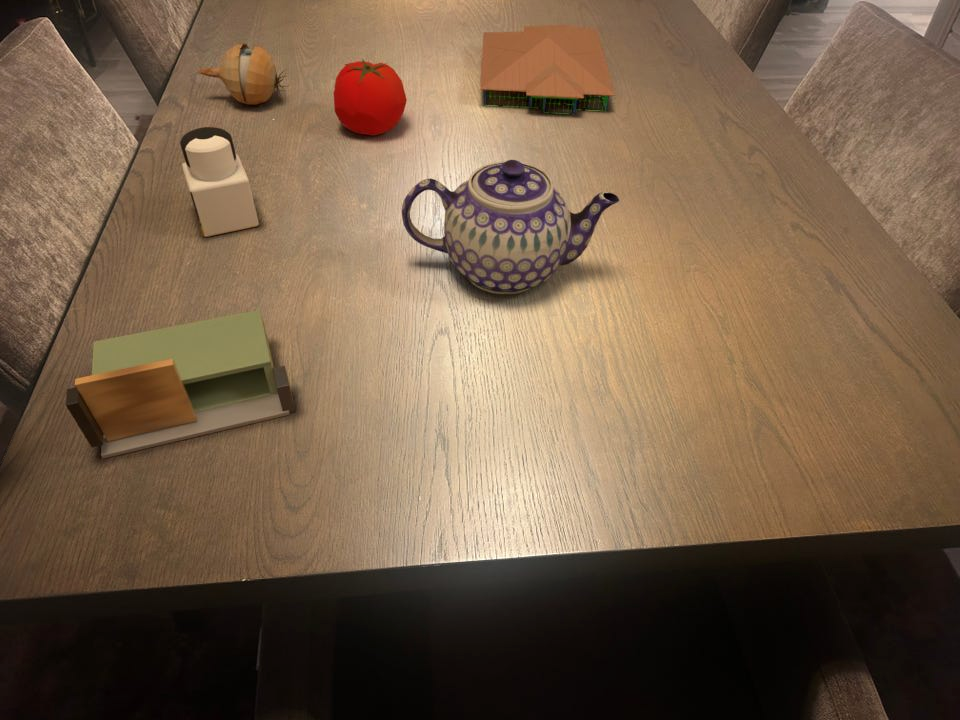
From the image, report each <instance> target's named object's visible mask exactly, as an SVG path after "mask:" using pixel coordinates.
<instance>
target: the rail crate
mask: <svg viewBox="0 0 960 720" xmlns="http://www.w3.org/2000/svg"><path fill="white" fill-rule="evenodd" d="M271 351H272V350H271V345H270V342H269V339H268V335H267V331H266V327H265V323H264V319H263V314H262V311H261V309H256V310H251V311H246V312H239V313H235V314H230V315H223V316H219V317H213V318H209V319H203V320H198V321H194V322H193V321H192V322H188V323H183V324H182V323H181V324H177V325H172V326H168V327H163V328H162V327H161V328H157V329H152V330H151V329H150V330H146V331H142V332H141V331H140V332H136V333H131V334H126V335H120V336H116V337H109V338H105V339H100V340H95V341H93V344H92V363H91V375H95V374H100V373H105V372H110V371H115V370H120V369H125V368H130V367H135V366H139V365H144V364H149V363H154V362H159V361H164V360H169V359H173V360H174V362H175V365H176V367H177V370H178V372H179V375H180V377H181V379H182V382H183V384H184V387H185V389H186V392H187V394H188V396H189V399H190V401H191V404H192V406H193V409H194V411H195V414H196V418H197V421H195V422H191V423H187V424H182V425H178V426H174V427H169V428H165V429H161V430H156V431H152V432H147V433H143V434H139V435H134V436H130V437H126V438H121V439H117V440H113V441H107V439H106V438H105V436H103V445H101V446H100V456H101V459H107V458H113V457H117V456H120V455H125V454H129V453H133V452H138V451H142V450H146V449H150V448H153V447H154V448H155V447H159V446H163V445H167V444H172V443H177V442H179V441H180V442H181V441H183V440H189V439H194V438H197V437H202V436H205V435H210V434H214V433H218V432H221V431H222V432H223V431H227V430H231V429H236V428H239V427H244V426H247V425H253V424H257V423H261V422H264V421H269V420H275V419H277V418H282V417H285V416H290V415H291V413H296V406H295V402H294V398H293V393H292V389H291V385H290V380H289V376H288V372H287V368H286V365H281V366H276V367H275V366H274V362H273V361H274V360H273V356H272V352H271Z"/></svg>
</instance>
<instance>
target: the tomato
mask: <svg viewBox="0 0 960 720" xmlns="http://www.w3.org/2000/svg"><path fill="white" fill-rule="evenodd" d="M361 59H362V60H361V61H359V60H358V61H354V62H349V63H344V66H343V68H342V69H340V70H339V72H338V73H337V76H336V78H335V82H334V90H333V104H334V105H333V106H334V107H333V108H334V113H335V115H336V117H337V119H338V120H339V122H340V123H341V124H342V126H344V127H345V128H346V129H347V130H350V131H352V132H354V133H356V134H360V135H366V136H372V137H374V136H378V135H382V134H384V133H387V132H389V131H391V130H392V129H393V128H394V127H396V126H397V124H398V123H399V122H400V121H401V119H402V117H403V115H404V113H405V110H406V104H407V102H408V101H407V95H406V91H405V88H404V84H403V81H402V79H401V78H400V76H399V75H398V73H397V72H396V70H395V69H394V68H393V67H391V66H390V65H389V64H388V62H385V63H383V62H377V63H374V64H373V63H372V62H369V61H365V60H364V59H363V58H361Z"/></svg>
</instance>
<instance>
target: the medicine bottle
mask: <svg viewBox="0 0 960 720" xmlns="http://www.w3.org/2000/svg"><path fill="white" fill-rule="evenodd" d="M179 144H180V148H181V151H182V155H183V158H184V161H185V162H182V164H181V168H182V171H183V175H184V177H185V181H186V184H187V187H188V191H189V194H190V198H191V200H192V203H193V207H194V210H195V213H196V217H197V220H198V223H199V227H200V230H201V233H202V236H203V237H205V238H208V237H212V236H217V235H222V234H227V233H231V232H236V231H241V230H242V231H243V230H246V229H250V228H255V227H258V226H259V225H260V224H259V218H258V213H257V210H256V209H257V208H256V205H255V202H254V196H253V193H252V188H251V184H250V180H249V177H248V174H247V173H246V170H245V168H244V165H243V162H242V161H241V159H240V156H239V154H237V153H236V149H235V145H234V141H233V137H232V135H231V133H229V132H228V131H227V130H225V129H223V128H220V127H216V126H204V127H198V128H195V129H192V130H190V131H188V132H186V133H185V134H184V135H182V138H181V139H180V141H179Z"/></svg>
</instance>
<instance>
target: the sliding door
mask: <svg viewBox="0 0 960 720" xmlns="http://www.w3.org/2000/svg"><path fill="white" fill-rule="evenodd" d="M74 386H75V387H70V388H67V389H66V398H65V406H66V409H67V410H68V411H69V413H70V415H71V416H72V418H73V420H74V421H75V423H76V424H77V426H78V428H79V430H80V431H81V433H82V434H83V436H84V438H85V440H86V441H87V443H88V444H89V446H90V447H91V448H96V447H101V445H103V436H105V438H106V439H107V441H113V440H117V439H121V438H126V437H130V436H134V435H139V434H143V433H147V432H152V431H156V430H161V429H165V428H169V427H174V426H178V425H182V424H187V423H191V422H195V421H197V418H196V414H195V411H194V409H193V406H192V404H191V401H190V399H189V396H188V394H187V392H186V389H185V387H184V384H183V382H182V379H181V377H180V375H179V372H178V370H177V367H176V365H175V362H174V360H173V359H169V360H164V361H159V362H154V363H149V364H144V365H139V366H135V367H130V368H125V369H120V370H115V371H110V372H105V373H100V374H95V375H92V374H90V375H86V376H81V377H77V378H75V379H74Z"/></svg>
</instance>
